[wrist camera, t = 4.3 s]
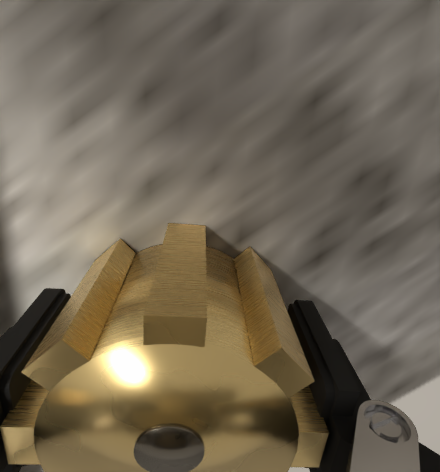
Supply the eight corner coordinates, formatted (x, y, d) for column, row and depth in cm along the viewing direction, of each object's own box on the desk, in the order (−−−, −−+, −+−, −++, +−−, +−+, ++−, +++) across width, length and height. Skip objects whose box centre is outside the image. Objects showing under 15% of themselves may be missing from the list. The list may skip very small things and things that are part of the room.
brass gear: (71, 217, 11) (-31, 311, 6) (296, 231, 11) (363, 327, 7) (86, 389, 13) (23, 546, 9) (266, 394, 14) (298, 544, 9)
